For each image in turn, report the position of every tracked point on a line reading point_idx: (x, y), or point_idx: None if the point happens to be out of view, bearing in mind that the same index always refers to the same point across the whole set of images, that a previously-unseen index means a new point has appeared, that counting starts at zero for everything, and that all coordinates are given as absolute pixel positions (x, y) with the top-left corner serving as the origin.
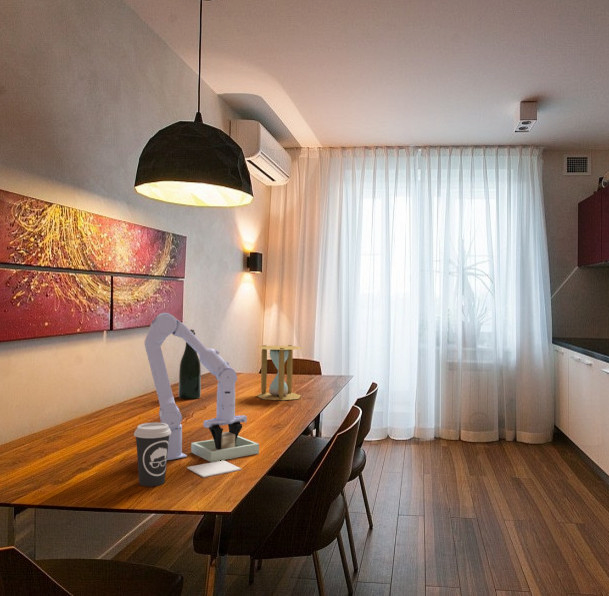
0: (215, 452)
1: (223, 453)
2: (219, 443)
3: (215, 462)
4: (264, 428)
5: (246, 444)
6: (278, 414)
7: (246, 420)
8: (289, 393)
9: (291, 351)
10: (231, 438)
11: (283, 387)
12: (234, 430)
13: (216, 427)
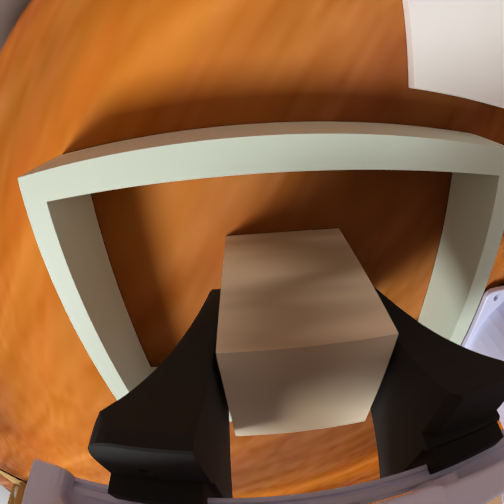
0: (488, 145)
1: (417, 133)
2: (384, 299)
3: (474, 85)
4: (30, 434)
5: (102, 301)
6: (14, 459)
7: (31, 475)
8: (16, 484)
9: None
10: (269, 318)
11: (16, 496)
12: (211, 408)
13: (472, 427)
